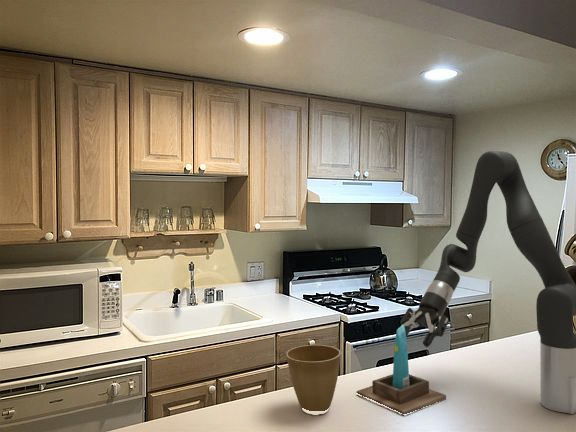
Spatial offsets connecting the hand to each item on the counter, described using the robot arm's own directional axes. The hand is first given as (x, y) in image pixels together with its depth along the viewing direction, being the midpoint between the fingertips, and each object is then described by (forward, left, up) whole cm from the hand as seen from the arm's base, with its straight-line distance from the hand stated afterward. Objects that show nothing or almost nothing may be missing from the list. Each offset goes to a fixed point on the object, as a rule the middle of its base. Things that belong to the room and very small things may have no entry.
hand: (413, 342), depth 142 cm
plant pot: (+9, +31, -15) cm, 35 cm away
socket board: (0, +6, -15) cm, 16 cm away
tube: (+1, +5, -14) cm, 15 cm away
